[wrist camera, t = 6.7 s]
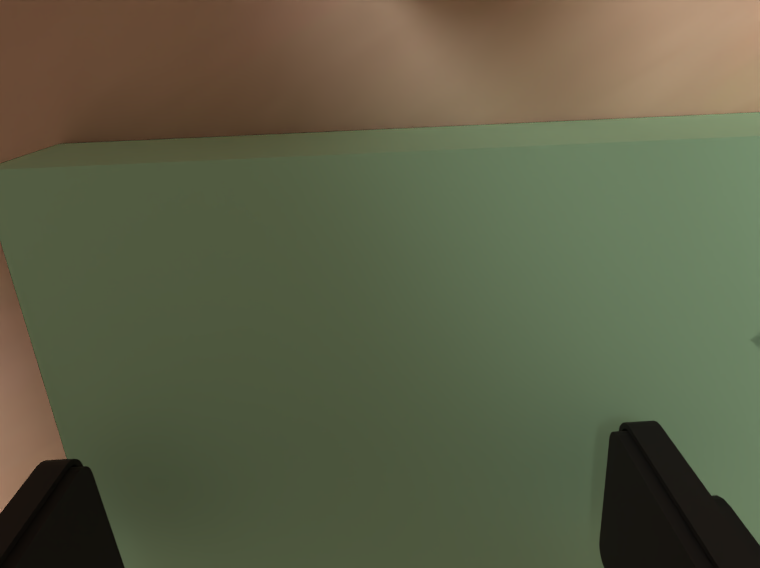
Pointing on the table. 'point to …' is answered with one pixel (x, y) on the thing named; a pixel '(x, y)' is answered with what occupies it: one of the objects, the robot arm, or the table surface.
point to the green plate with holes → (392, 332)
